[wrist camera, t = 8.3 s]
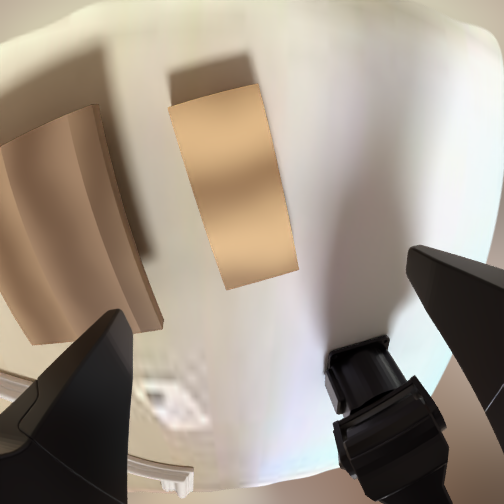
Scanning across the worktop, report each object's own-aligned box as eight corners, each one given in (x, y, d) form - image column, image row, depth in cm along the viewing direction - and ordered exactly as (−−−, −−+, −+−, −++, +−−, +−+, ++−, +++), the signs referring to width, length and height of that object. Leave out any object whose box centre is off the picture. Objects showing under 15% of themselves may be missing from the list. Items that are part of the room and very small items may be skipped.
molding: (-32, 367, 24) (-39, 382, 22) (-13, 334, 22) (-24, 351, 19) (178, 489, 43) (178, 501, 40) (227, 477, 41) (228, 491, 38)
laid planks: (113, 104, 15) (91, 104, 12) (167, 295, 22) (162, 329, 19) (-15, 161, 15) (-45, 174, 11) (48, 316, 21) (32, 345, 18)
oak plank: (290, 253, 22) (299, 269, 20) (224, 271, 22) (226, 290, 20) (251, 86, 17) (258, 83, 15) (172, 107, 17) (167, 107, 14)
